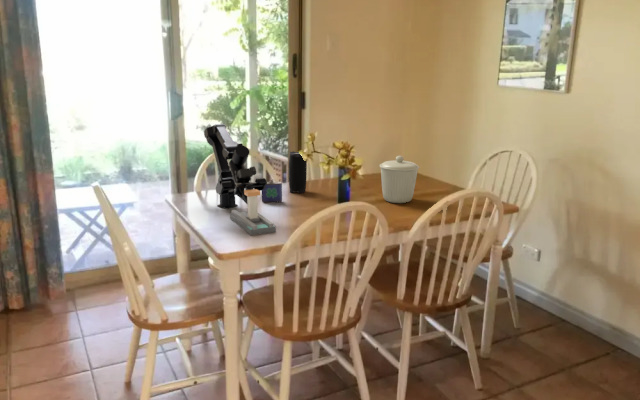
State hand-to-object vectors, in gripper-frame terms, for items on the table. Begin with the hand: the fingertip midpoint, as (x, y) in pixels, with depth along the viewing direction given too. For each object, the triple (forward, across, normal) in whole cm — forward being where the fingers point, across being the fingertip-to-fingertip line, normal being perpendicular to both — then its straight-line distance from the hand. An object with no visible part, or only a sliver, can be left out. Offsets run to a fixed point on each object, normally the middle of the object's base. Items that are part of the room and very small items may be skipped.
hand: (248, 204), depth 213 cm
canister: (+3, +74, +8) cm, 75 cm away
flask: (-12, +20, +24) cm, 34 cm away
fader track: (+8, 0, +3) cm, 8 cm away
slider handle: (+7, 0, +1) cm, 7 cm away
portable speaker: (-21, +39, +32) cm, 55 cm away
